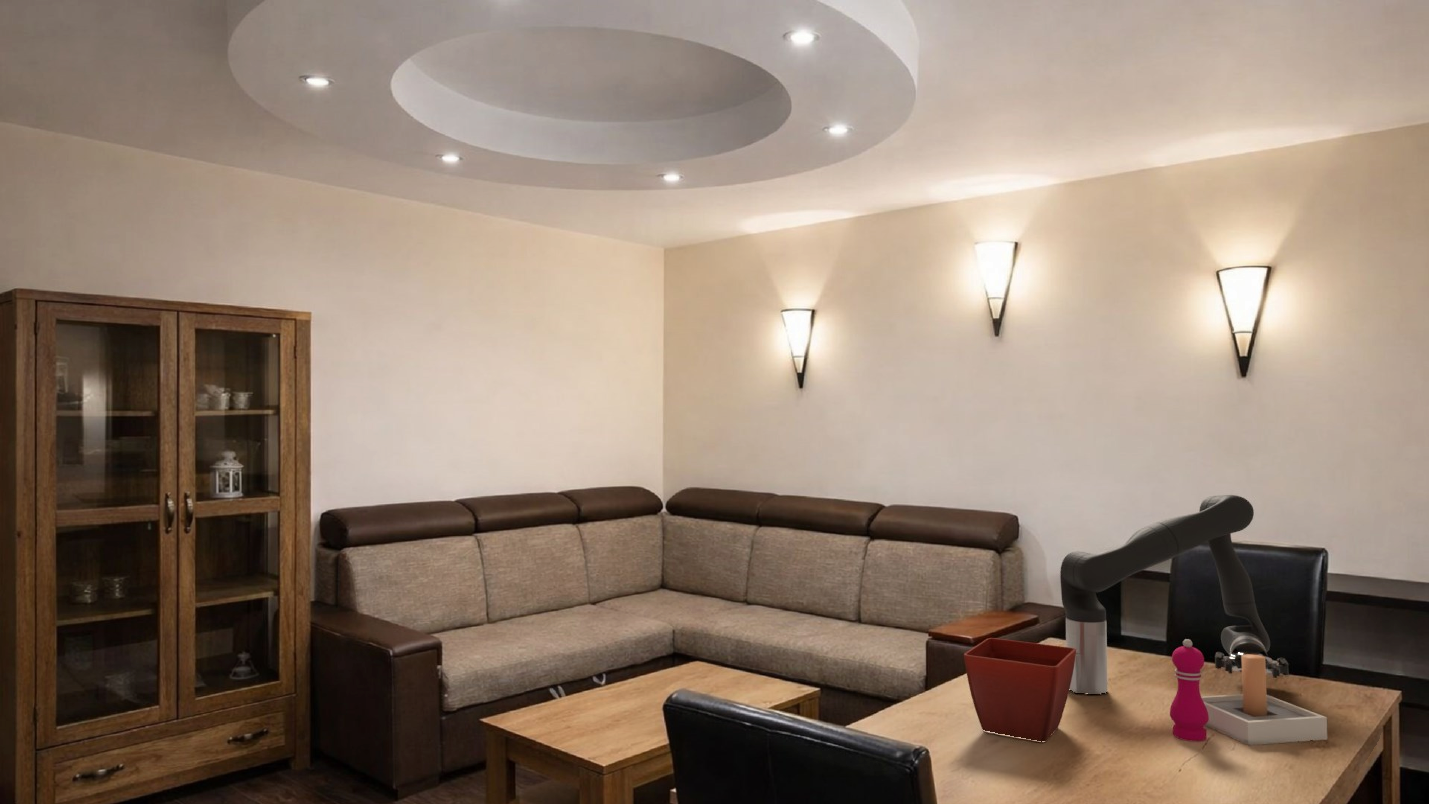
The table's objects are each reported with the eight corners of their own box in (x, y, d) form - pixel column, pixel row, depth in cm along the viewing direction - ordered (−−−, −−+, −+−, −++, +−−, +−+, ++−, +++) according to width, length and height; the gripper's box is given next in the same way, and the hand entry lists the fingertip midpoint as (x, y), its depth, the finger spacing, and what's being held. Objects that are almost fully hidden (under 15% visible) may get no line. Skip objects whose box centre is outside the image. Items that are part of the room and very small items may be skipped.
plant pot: (1078, 725, 203) (1077, 647, 204) (1058, 752, 187) (1056, 666, 188) (989, 712, 214) (988, 636, 214) (963, 735, 198) (962, 654, 198)
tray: (1248, 745, 190) (1247, 722, 190) (1189, 717, 208) (1188, 697, 208) (1327, 739, 193) (1326, 717, 193) (1262, 713, 211) (1261, 692, 211)
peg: (1253, 727, 198) (1251, 660, 199) (1238, 720, 203) (1236, 655, 203) (1272, 725, 199) (1270, 658, 199) (1257, 719, 203) (1254, 653, 204)
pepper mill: (1206, 732, 198) (1204, 636, 199) (1212, 743, 191) (1209, 644, 192) (1168, 729, 201) (1166, 634, 201) (1172, 740, 194) (1170, 641, 194)
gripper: (1213, 635, 225) (1215, 650, 210) (1283, 641, 218) (1290, 657, 204) (1214, 667, 225) (1216, 684, 210) (1284, 674, 218) (1290, 692, 204)
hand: (1252, 671), depth 207 cm, fingers open, 8 cm apart
